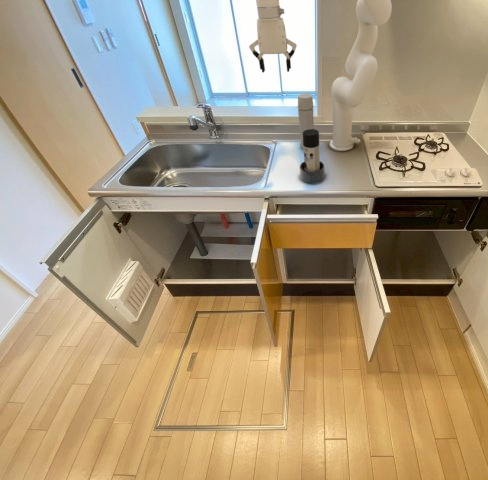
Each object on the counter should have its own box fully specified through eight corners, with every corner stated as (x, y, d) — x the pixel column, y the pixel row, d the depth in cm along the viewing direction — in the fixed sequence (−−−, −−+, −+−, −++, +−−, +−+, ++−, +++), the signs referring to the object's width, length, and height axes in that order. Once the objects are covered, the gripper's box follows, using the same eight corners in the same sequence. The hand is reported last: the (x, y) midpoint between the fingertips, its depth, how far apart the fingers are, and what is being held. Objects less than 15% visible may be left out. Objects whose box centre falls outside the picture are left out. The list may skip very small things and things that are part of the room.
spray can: (303, 173, 121) (299, 130, 107) (316, 170, 123) (315, 127, 108) (308, 181, 117) (305, 137, 102) (322, 177, 118) (321, 134, 104)
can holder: (324, 170, 124) (324, 159, 120) (324, 183, 116) (324, 172, 112) (301, 170, 124) (300, 160, 120) (300, 184, 117) (299, 173, 113)
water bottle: (316, 149, 137) (314, 98, 119) (301, 151, 137) (297, 99, 119) (313, 141, 144) (311, 91, 126) (299, 143, 143) (295, 92, 125)
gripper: (294, 11, 93) (298, 68, 105) (245, 12, 93) (255, 69, 106) (293, 14, 88) (297, 73, 100) (241, 15, 88) (252, 74, 100)
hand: (276, 71), depth 103 cm, fingers open, 9 cm apart
